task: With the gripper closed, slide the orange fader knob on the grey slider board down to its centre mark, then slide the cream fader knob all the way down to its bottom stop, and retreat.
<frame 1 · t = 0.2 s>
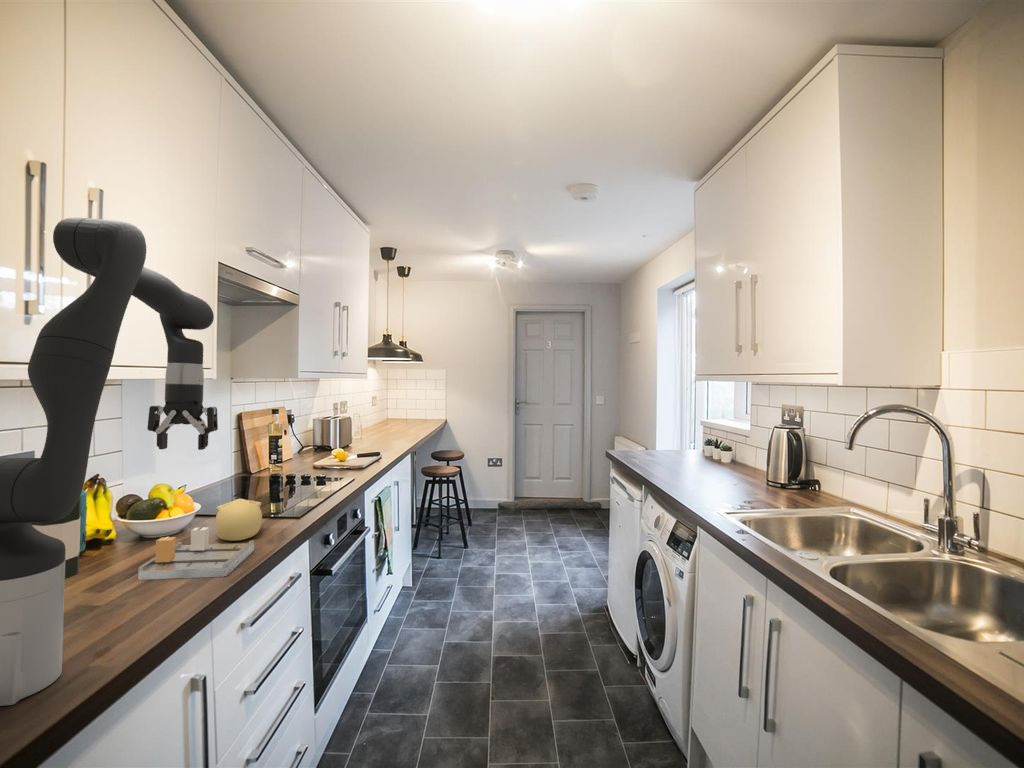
hand: (182, 449, 109), 28 cm above the countertop, fingers open, 8 cm apart
fader a: (165, 549, 105), point 5 cm above the countertop, slide at 6.0 cm
fader b: (199, 538, 113), point 5 cm above the countertop, slide at 2.0 cm
beverage bottle: (67, 558, 111), on the countertop
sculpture: (238, 538, 129), on the countertop
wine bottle: (54, 576, 101), on the countertop
grey slider board: (200, 564, 110), on the countertop
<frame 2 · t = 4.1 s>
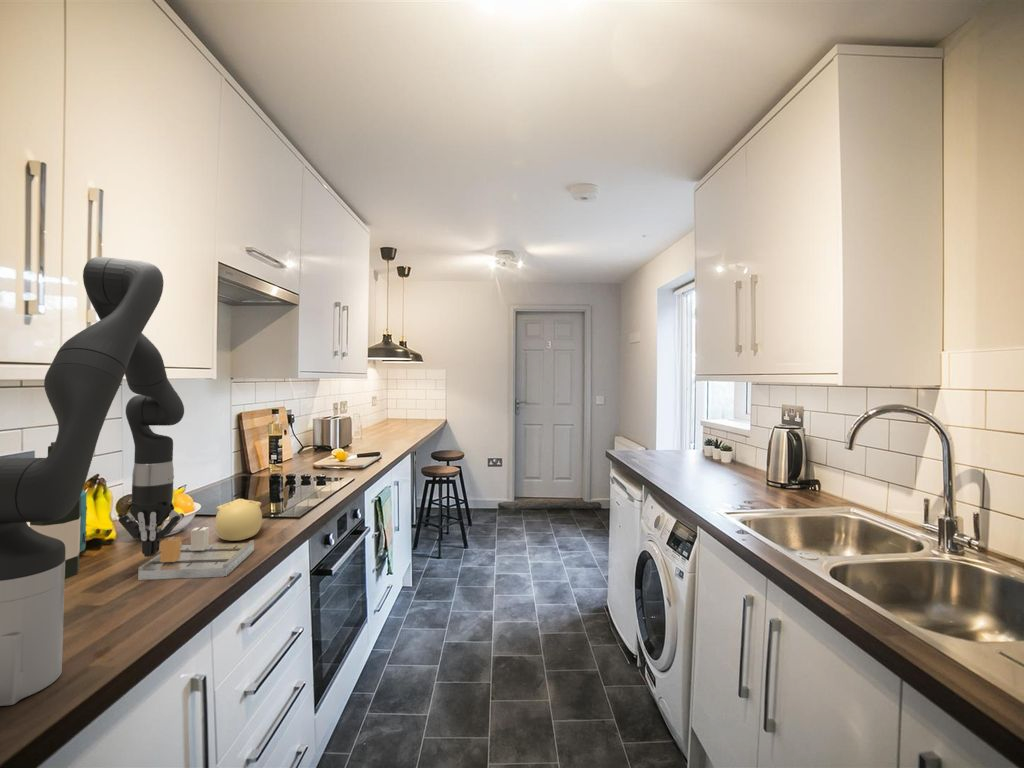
hand: (150, 555, 105), 4 cm above the countertop, fingers closed
fader a: (170, 549, 106), point 5 cm above the countertop, slide at 4.9 cm, touching gripper
everything else where it was.
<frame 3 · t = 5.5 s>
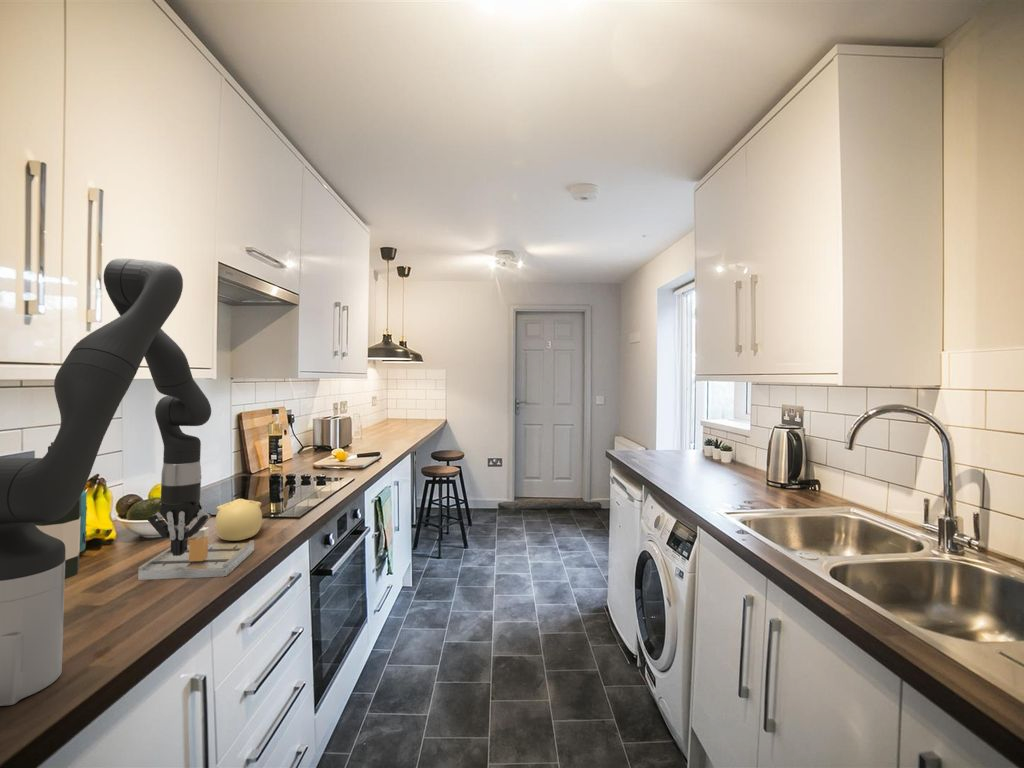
hand: (179, 554, 106), 4 cm above the countertop, fingers closed
fader a: (198, 548, 107), point 5 cm above the countertop, slide at -1.0 cm, touching gripper
everything else where it was.
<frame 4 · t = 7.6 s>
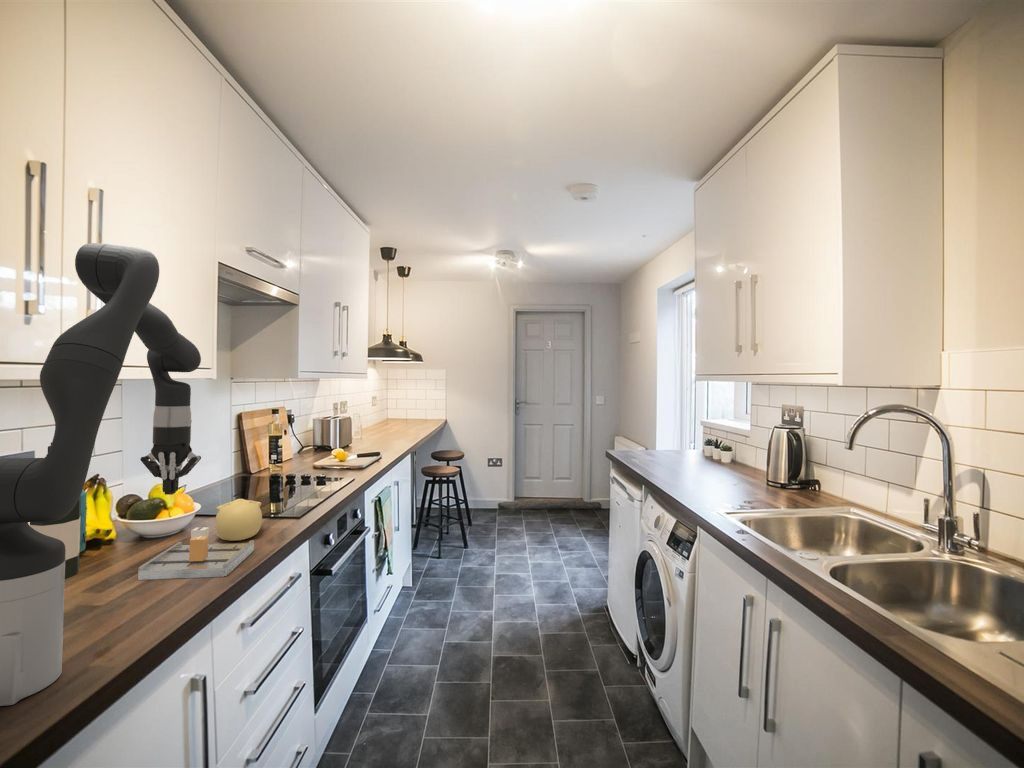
hand: (170, 493, 112), 16 cm above the countertop, fingers closed
fader a: (198, 548, 107), point 5 cm above the countertop, slide at -1.0 cm
everything else where it was.
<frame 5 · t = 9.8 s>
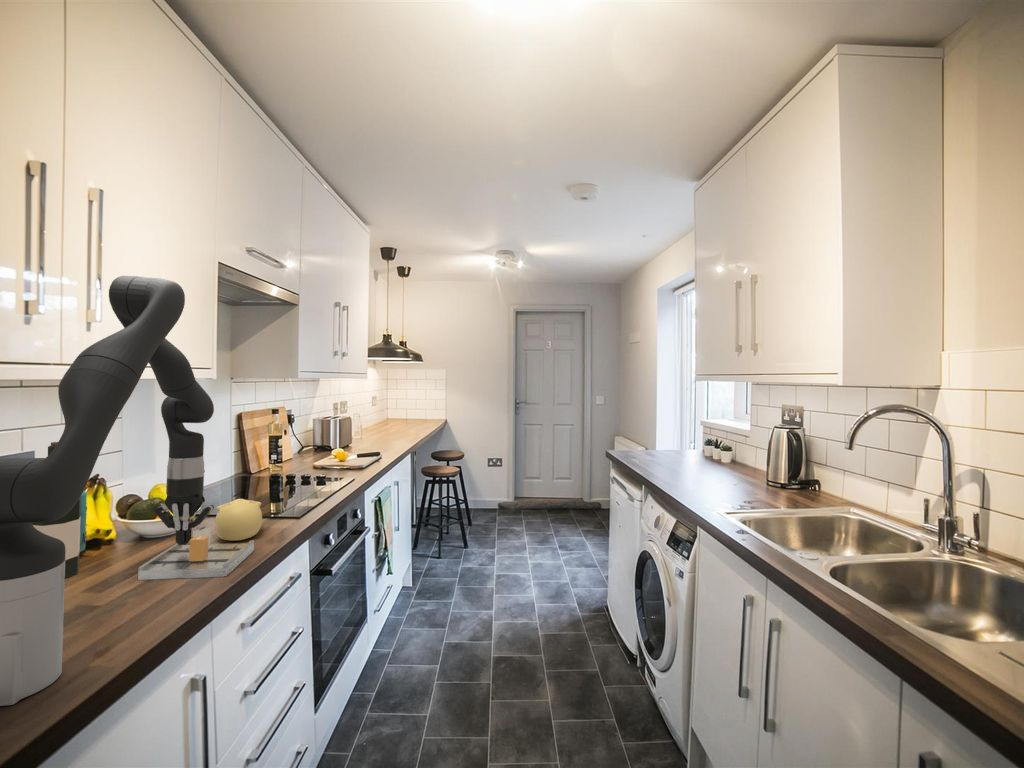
hand: (183, 544, 112), 4 cm above the countertop, fingers closed
fader b: (201, 538, 113), point 5 cm above the countertop, slide at 1.5 cm, touching gripper
everything else where it was.
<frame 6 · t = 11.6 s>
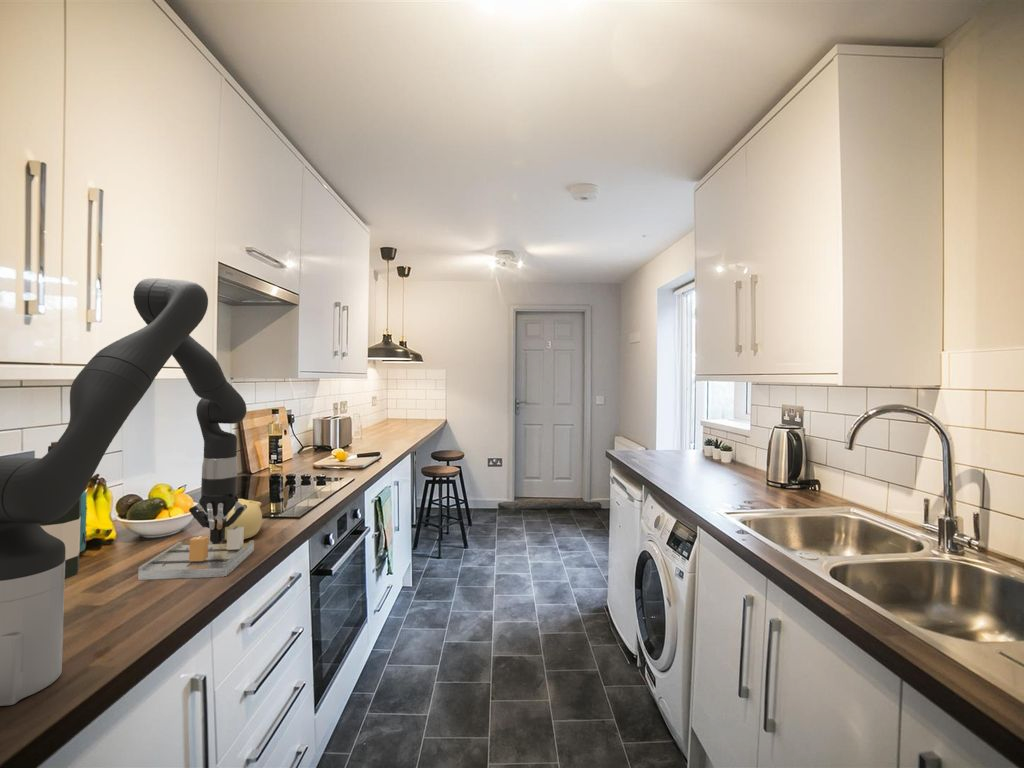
hand: (217, 543, 114), 4 cm above the countertop, fingers closed
fader b: (235, 537, 114), point 5 cm above the countertop, slide at -6.2 cm, touching gripper
everything else where it was.
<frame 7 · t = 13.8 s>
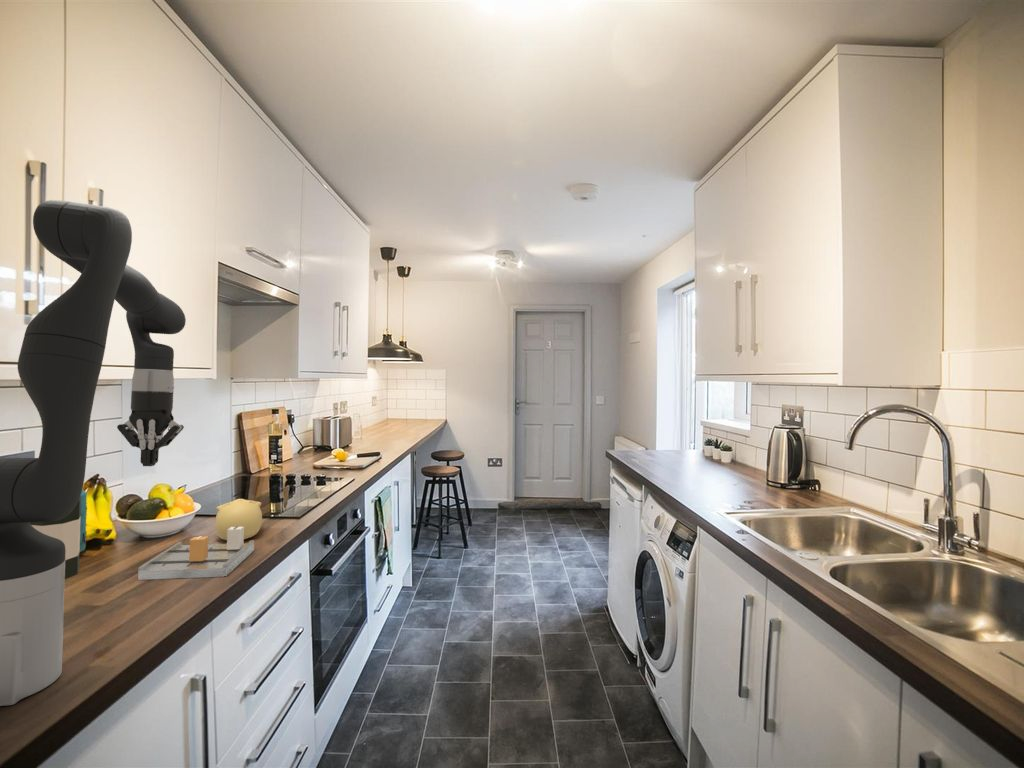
hand: (149, 465, 103), 25 cm above the countertop, fingers closed
fader b: (235, 537, 114), point 5 cm above the countertop, slide at -6.2 cm
everything else where it was.
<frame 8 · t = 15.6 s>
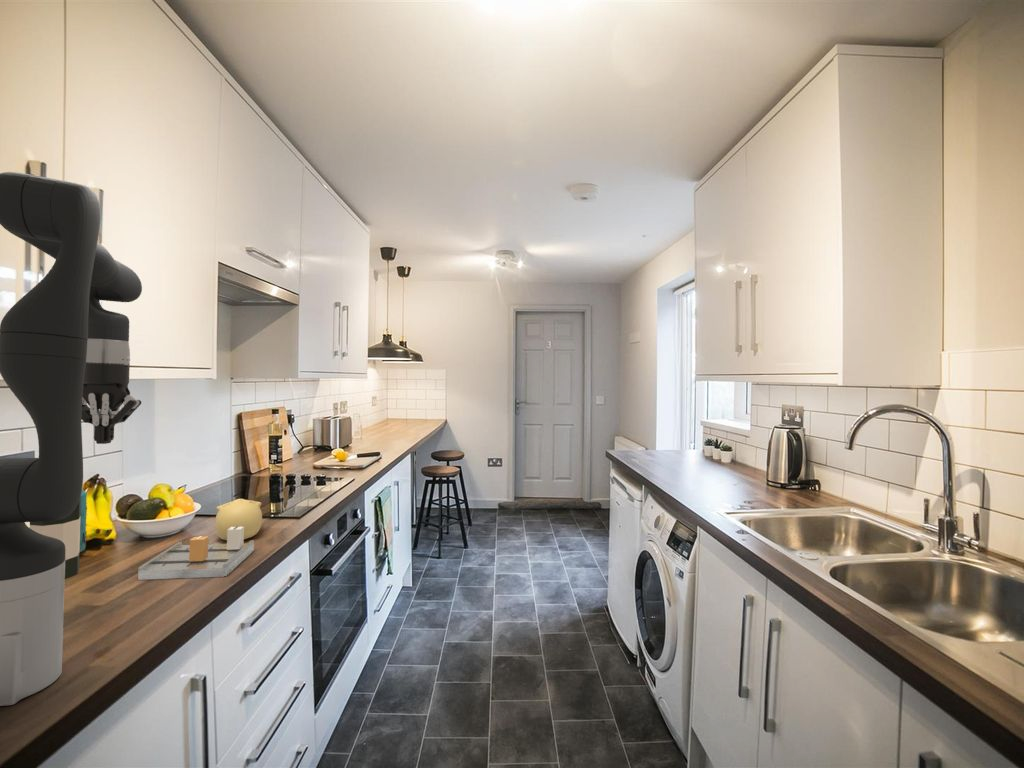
hand: (103, 443, 96), 31 cm above the countertop, fingers closed
nothing on the countertop moved.
at the end: fader a slide at -1.0 cm; fader b slide at -6.2 cm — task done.
